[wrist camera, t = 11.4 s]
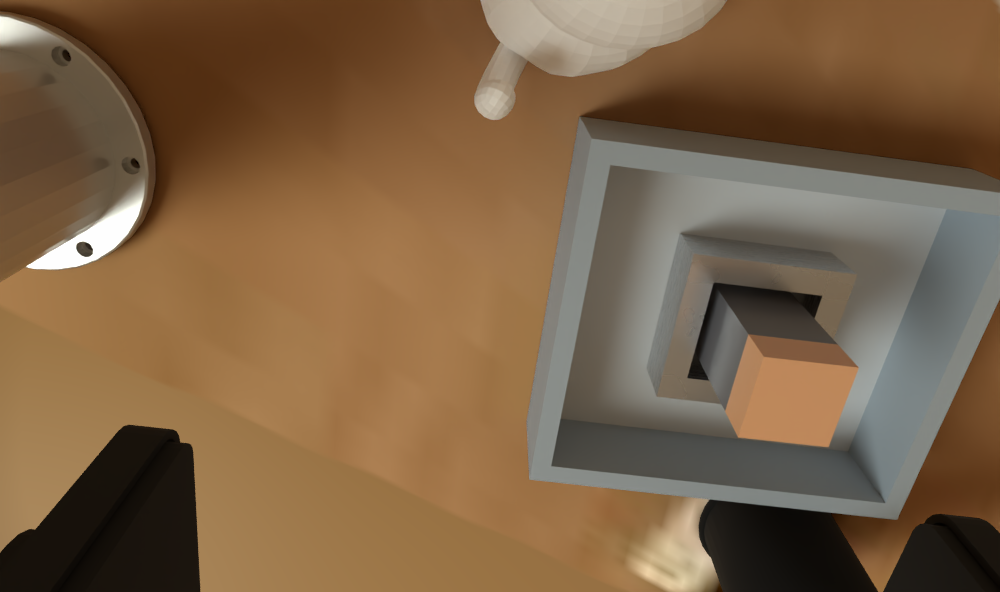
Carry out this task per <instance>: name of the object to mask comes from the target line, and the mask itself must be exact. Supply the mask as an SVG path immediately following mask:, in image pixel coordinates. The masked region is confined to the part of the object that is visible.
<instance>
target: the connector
mask: <svg viewBox="0 0 1000 592" xmlns="http://www.w3.org/2000/svg"><path fill="white" fill-rule="evenodd" d="M695 353H696V355H697V357H698V359H699V361H700V363H701V365H702V367H703V369H704V371H705V373H706V375H707V377H708V379H709V381H710V383H711V385H712V387H713V389H714V391H715V393H716V395H717V396H718V398H719V400H720V402H721V404H722V406H723V408H724V410H725V412H726V414H727V416H728V418H729V420H730V422H731V424H732V426H733V428H734V430H735V432H736V434H737V436H738V437H739V438H748V439H757V440H766V441H775V442H785V443H794V444H803V445H812V446H821V447H829V445H830V442H831V439H832V437H833V434H834V432H835V429H836V426H837V424H838V421H839V419H840V416H841V413H842V411H843V408H844V406H845V403H846V400H847V398H848V395H849V392H850V390H851V387H852V385H853V382H854V379H855V377H856V374H857V372H858V369H859V367H858V366H857V365H856V364H855V363H854V362H853V361H852V359H851V358H850V357H849V356H848V355H847V354H846V353H845V352H844V351H843V350H842V348H841V347H840V346H839V345H838V344H837V343H836V342H835V341H834V340H833V339H832V337H831V336H830V335H829V334H828V333H827V332H826V331H825V330H824V329H823V328H822V326H821V325H820V324H819V323H818V322H817V321H816V320H815V319H814V318H813V317H812V315H811V314H810V313H809V312H808V311H807V310H806V309H805V308H804V307H803V306H802V305H801V303H800V302H799V301H798V300H797V299H796V298H795V297H794V296H793V295H792V294H791V292H788V291H780V290H772V289H764V288H756V287H748V286H740V285H732V284H724V283H716V282H714V283H713V287H712V290H711V294H710V298H709V301H708V305H707V308H706V312H705V316H704V319H703V323H702V326H701V330H700V334H699V337H698V341H697V344H696V348H695Z"/></svg>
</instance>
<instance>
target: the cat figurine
mask: <svg viewBox="0 0 1000 592" xmlns="http://www.w3.org/2000/svg"><path fill="white" fill-rule="evenodd" d="M480 1H481V5H482V8H483V11H484V14H485V17H486V21H487V24H488V25H489V27H490V29H491V30H492V32H493V33H494V35H495V36H496V38H497V39H498V40H499V41H500V44H499V45H498V47H497V49H496V51H495V53H494V54H493V56H492V58H491V60H490V62H489V64H488V66H487V68H486V70H485V72H484V74H483V76H482V78H481V80H480V82H479V85H478V87H477V90H476V93H475V95H474V104H475V106H476V108H477V110H478V112H479V113H480V114H482V115H483V116H484V117H486V118H488V119H491V120H499V119H501V118H503V117H505V116H507V115H508V114H509V112H510V111H511V110H512V108H513V106H514V103H515V92H514V88H515V86H516V84H517V81H518V79H519V77H520V75H521V73H522V71H523V69H524V67H525V65H526V63H527V62H528V61H529V62H531V63H532V64H533V65H535V66H536V67H538V68H540V69H542V70H543V71H545V72H547V73H549V74H553V75H560V76H568V77H575V76H581V75H587V74H592V73H597V72H602V71H607V70H612V69H615V68H617V67H620V66H622V65H624V64H626V63H628V62H630V61H632V60H633V59H635V58H637V57H639V56H641V55H642V54H644V53H645V52H646V51H648V50H649V49H650V48H652V47H657V46H661V45H665V44H668V43H672V42H675V41H679V40H681V39H682V38H684V37H686V36H688V35H690V34H692V33H694V32H695V31H697V30H699V29H701V28H702V27H703V26H704V25H705V24H706V23H707V22H708V21H710V20H711V19H712V18H713V17H714V16H715V15H716V14H717V13H718V12H719V11H720V10H721V9H722V7H723V6H724V4H725V3H726V1H727V0H480Z"/></svg>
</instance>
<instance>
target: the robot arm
mask: <svg viewBox="0 0 1000 592" xmlns="http://www.w3.org/2000/svg"><path fill="white" fill-rule="evenodd" d="M68 52H69V53H70V56H71V59H70V58H69V56H68ZM135 159H136V160H137V161H138V162H139V165H140V166H139V165H138V164H137V163H136V162H135ZM155 182H156V169H155V154H154V150H153V145H152V140H151V136H150V132H149V130H148V127H147V125H146V122H145V120H144V118H143V115H142V113H141V110H140V108H139V107H138V105H137V103H136V102H135V100H134V98H133V97H132V95H131V93H130V92H129V90H128V89H127V87H126V85H125V84H124V83H123V82H122V81H121V79H120V78H119V77H118V76H117V75H116V74H115V72H114V71H113V70H112V69H111V68H110V67H109V65H108V64H107V63H106V62H105V61H103V60H102V59H101V58H100V57H99V56H98V55H97V54H95V53H94V52H93V51H92V50H91V49H90V48H88V47H87V46H86V45H85V44H83V43H82V42H80V41H79V40H77V39H75V38H74V37H72V36H71V35H69V34H68V33H66V32H64V31H63V30H61V29H59V28H57V27H55V26H52V25H50V24H47V23H45V22H43V21H40V20H38V19H36V18H33V17H28V16H24V15H20V14H15V13H11V12H3V11H0V282H1V281H3V280H5V279H6V278H8V277H10V276H11V275H13V274H15V273H16V272H18V271H20V270H21V269H23V268H25V267H26V268H31V269H38V270H63V269H70V268H77V267H81V266H84V265H87V264H90V263H92V262H95V261H98V260H100V259H102V258H103V257H105V256H107V255H108V254H110V253H111V252H113V251H115V250H116V249H117V248H119V247H120V246H121V245H122V244H123V243H125V242H126V241H127V240H128V239H130V238H131V237H132V236H133V234H134V233H135V232H136V230H137V229H138V228H139V226H140V225H141V224H142V222H143V221H144V219H145V217H146V214H147V212H148V210H149V207H150V205H151V203H152V198H153V193H154V187H155ZM195 499H196V498H195V480H194V459H193V449H192V446H191V445H190V444H188V443H180V439H179V435H178V433H177V432H176V431H175V430H171V429H163V428H154V427H144V426H135V425H127V426H124V427H122V428H121V429H120V430H119V431H118V432H117V433H116V434H115V436H114V437H113V438H112V439H111V440H110V442H109V443H108V444H107V445H106V446H105V448H104V449H103V450H102V451H101V452H100V453H99V455H98V456H97V457H96V458H95V459H94V461H93V462H92V463H91V464H90V466H89V467H88V468H87V469H86V470H85V471H84V473H83V474H82V475H81V476H80V477H79V479H78V480H77V481H76V482H75V483H74V484H73V486H72V487H71V488H70V489H69V491H67V493H66V494H65V495H64V496H63V497H62V499H61V500H60V501H59V502H58V503H57V504H56V506H55V507H54V508H53V509H52V511H51V512H50V513H49V514H48V515H47V516H46V518H45V519H44V520H43V521H42V522H41V523H40V525H39V526H38V527H37V528H36V529H35V530H33V529H29V530H27V531H25V532H22V533H20V534H18V535H17V536H16V537H15V538H14V539H13V540H12V541H11V542H10V543H9V544H8V545H7V546H6V547H5V548H4V549H3V550H2V551H1V553H0V592H200V578H199V557H198V537H197V519H196V518H197V517H196V500H195ZM883 592H1000V533H999V532H998V531H997V530H996V529H995V528H994V527H993V526H992V525H991V524H990V523H988V522H987V521H985V520H982V519H980V518H972V517H963V516H954V515H945V514H935V515H932V516H931V517H929V518H928V519H927V520H926V521H925V523H924V524H920V525H918V526H917V527H916V528H915V529H914V530H913V532H912V534H911V536H910V538H909V540H908V542H907V544H906V546H905V548H904V550H903V552H902V554H901V556H900V559H899V561H898V563H897V565H896V567H895V569H894V571H893V573H892V575H891V577H890V579H889V581H888V583H887V585H886V587H885V589H884V591H883Z"/></svg>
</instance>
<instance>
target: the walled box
mask: <svg viewBox="0 0 1000 592" xmlns="http://www.w3.org/2000/svg"><path fill="white" fill-rule="evenodd" d="M679 233H683V234H691V235H699V236H707V237H715V238H723V239H730V240H738V241H746V242H754V243H762V244H770V245H778V246H786V247H793V248H801V249H809V250H817V251H825V252H831V253H833V254H834V255H835V256H836V257H837V258H838V259H840V260H841V261H842V262H843V263H844V264H846V265H847V266H848V267H849V268H850V269H852V270H853V271H854V272H855V273H856V274H858V275H857V277H856V280H855V283H854V286H853V288H852V291H851V294H850V296H849V299H848V302H847V305H846V307H845V310H844V313H843V315H842V318H841V321H840V324H839V326H838V329H837V332H836V335H835V337H834V341H835V342H836V343H837V344H838V345H839V346H840V347H841V348H842V350H843V351H844V352H845V353H846V354H847V355H848V356H849V357H850V358H851V359H852V361H853V362H854V363H855V364H856V365H857V366H858V367H859V369H858V372H857V374H856V377H855V379H854V382H853V385H852V387H851V390H850V392H849V395H848V398H847V400H846V403H845V406H844V408H843V411H842V413H841V416H840V419H839V421H838V424H837V426H836V429H835V432H834V434H833V437H832V439H831V442H830V445H829V447H821V446H812V445H803V444H794V443H785V442H775V441H766V440H757V439H748V438H739V437H738V436H737V434H736V432H735V430H734V428H733V426H732V424H731V422H730V420H729V418H728V416H727V414H726V412H725V410H724V408H723V406H722V404H715V403H707V402H698V401H690V400H681V399H672V398H664V397H657V396H656V393H655V391H654V388H653V385H652V382H651V379H650V377H649V374H648V371H647V368H646V367H647V362H648V358H649V354H650V350H651V346H652V342H653V338H654V334H655V330H656V326H657V322H658V318H659V314H660V310H661V306H662V302H663V298H664V294H665V290H666V286H667V282H668V278H669V274H670V270H671V266H672V262H673V258H674V254H675V250H676V245H677V241H678V237H679ZM791 294H792V292H791ZM999 299H1000V180H998V179H996V178H993V177H991V176H988V175H986V174H983V173H981V172H978V171H976V170H973V169H969V168H961V167H954V166H946V165H939V164H931V163H924V162H916V161H909V160H901V159H894V158H886V157H879V156H872V155H864V154H857V153H849V152H842V151H834V150H827V149H819V148H812V147H804V146H797V145H789V144H782V143H775V142H767V141H760V140H752V139H745V138H737V137H730V136H722V135H715V134H707V133H700V132H692V131H685V130H678V129H670V128H663V127H655V126H648V125H640V124H633V123H625V122H618V121H610V120H603V119H595V118H588V117H581V116H580V117H579V123H578V129H577V135H576V140H575V146H574V152H573V158H572V163H571V169H570V175H569V181H568V186H567V192H566V198H565V204H564V210H563V215H562V221H561V227H560V233H559V238H558V244H557V250H556V256H555V261H554V267H553V273H552V279H551V284H550V290H549V296H548V302H547V308H546V313H545V319H544V325H543V331H542V336H541V342H540V348H539V354H538V359H537V365H536V371H535V377H534V382H533V388H532V394H531V400H530V406H529V411H528V417H527V439H528V461H529V479H530V480H539V481H548V482H557V483H566V484H575V485H584V486H593V487H602V488H611V489H620V490H630V491H639V492H648V493H657V494H666V495H675V496H684V497H693V498H702V499H711V500H720V501H730V502H739V503H748V504H757V505H766V506H775V507H784V508H793V509H802V510H811V511H820V512H830V513H839V514H848V515H857V516H866V517H875V518H884V519H893V520H897V519H898V516H899V514H900V512H901V510H902V508H903V506H904V504H905V501H906V499H907V497H908V495H909V493H910V491H911V489H912V486H913V484H914V482H915V480H916V478H917V476H918V473H919V471H920V469H921V467H922V465H923V463H924V461H925V458H926V456H927V454H928V452H929V450H930V448H931V446H932V443H933V441H934V439H935V437H936V435H937V433H938V430H939V428H940V426H941V424H942V422H943V420H944V418H945V415H946V413H947V411H948V409H949V407H950V405H951V403H952V400H953V398H954V396H955V394H956V392H957V390H958V387H959V385H960V383H961V381H962V379H963V377H964V375H965V372H966V370H967V368H968V366H969V364H970V362H971V360H972V357H973V355H974V353H975V351H976V349H977V347H978V344H979V342H980V340H981V338H982V336H983V334H984V332H985V329H986V327H987V325H988V323H989V321H990V319H991V317H992V314H993V312H994V310H995V308H996V306H997V304H998V301H999Z"/></svg>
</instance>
